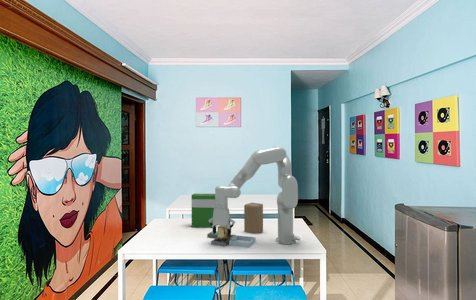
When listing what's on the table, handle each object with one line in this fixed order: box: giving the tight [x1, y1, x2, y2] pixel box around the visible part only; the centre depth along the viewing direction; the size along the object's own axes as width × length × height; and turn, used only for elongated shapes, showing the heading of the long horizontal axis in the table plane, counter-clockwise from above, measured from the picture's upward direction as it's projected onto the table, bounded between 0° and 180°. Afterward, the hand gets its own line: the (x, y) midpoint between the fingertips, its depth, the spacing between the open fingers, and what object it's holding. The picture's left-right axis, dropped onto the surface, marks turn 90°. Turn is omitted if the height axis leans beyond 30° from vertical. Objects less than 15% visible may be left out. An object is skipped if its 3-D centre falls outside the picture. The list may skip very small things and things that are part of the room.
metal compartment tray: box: [210, 234, 237, 247], centre depth 193 cm, size 18×10×3 cm, turn 159°
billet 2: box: [226, 222, 232, 238], centre depth 196 cm, size 5×5×10 cm
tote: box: [228, 234, 257, 248], centre depth 189 cm, size 13×13×4 cm
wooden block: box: [243, 202, 264, 235], centre depth 215 cm, size 10×10×20 cm
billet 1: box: [217, 225, 226, 242], centre depth 189 cm, size 5×5×10 cm
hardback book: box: [191, 193, 218, 229], centre depth 232 cm, size 18×7×24 cm, turn 85°
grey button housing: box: [206, 231, 218, 239], centre depth 203 cm, size 7×7×3 cm
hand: (221, 234), depth 189 cm, fingers open, 9 cm apart
